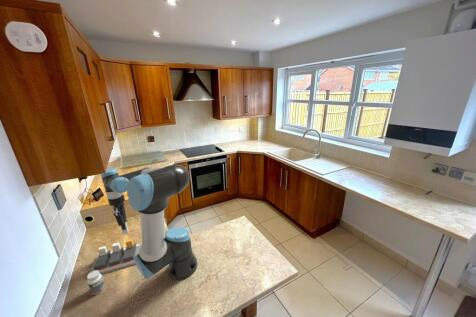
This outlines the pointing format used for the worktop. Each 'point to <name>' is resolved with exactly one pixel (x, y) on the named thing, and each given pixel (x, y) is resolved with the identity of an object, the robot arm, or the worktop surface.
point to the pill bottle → (95, 282)
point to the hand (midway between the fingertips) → (125, 233)
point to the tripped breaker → (129, 243)
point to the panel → (115, 258)
